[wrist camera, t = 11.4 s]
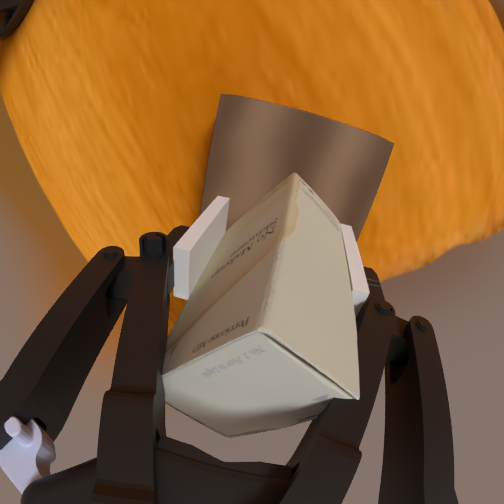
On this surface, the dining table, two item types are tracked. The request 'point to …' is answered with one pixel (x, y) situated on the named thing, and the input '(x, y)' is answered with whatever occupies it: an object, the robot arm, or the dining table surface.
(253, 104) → the plate
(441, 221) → the dining table surface
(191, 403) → the skincare box
